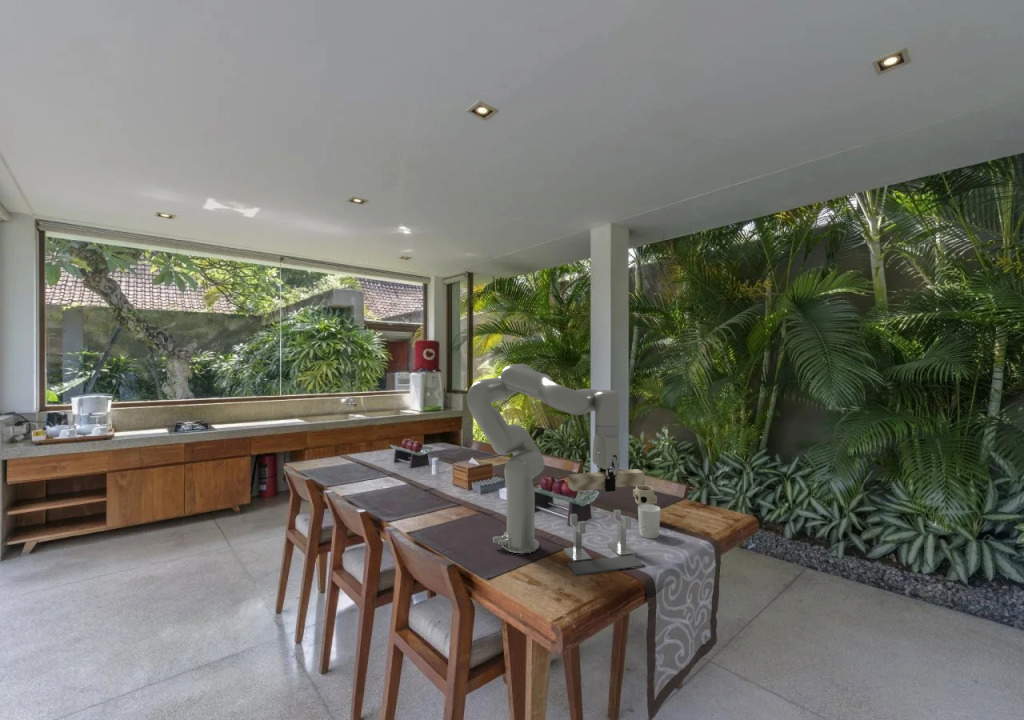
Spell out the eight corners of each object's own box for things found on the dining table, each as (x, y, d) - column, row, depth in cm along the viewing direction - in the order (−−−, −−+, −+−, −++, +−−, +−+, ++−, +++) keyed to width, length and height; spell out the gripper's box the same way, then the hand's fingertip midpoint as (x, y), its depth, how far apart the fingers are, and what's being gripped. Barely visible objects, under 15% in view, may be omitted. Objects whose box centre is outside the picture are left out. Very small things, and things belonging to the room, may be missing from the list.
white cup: (648, 541, 164) (648, 512, 164) (633, 533, 171) (633, 506, 171) (664, 536, 168) (665, 509, 168) (649, 529, 175) (649, 502, 175)
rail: (573, 491, 140) (573, 478, 140) (568, 487, 144) (568, 474, 144) (644, 484, 146) (644, 472, 146) (637, 481, 150) (637, 469, 150)
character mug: (627, 518, 186) (627, 486, 185) (638, 514, 190) (638, 482, 190) (650, 526, 177) (651, 493, 177) (661, 522, 182) (662, 489, 181)
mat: (576, 575, 139) (576, 573, 139) (567, 565, 146) (567, 563, 146) (644, 566, 145) (644, 564, 145) (633, 556, 152) (633, 554, 152)
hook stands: (574, 563, 147) (574, 524, 147) (563, 551, 156) (563, 514, 155) (636, 555, 153) (637, 517, 152) (623, 544, 162) (623, 508, 161)
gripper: (584, 426, 152) (584, 482, 152) (608, 436, 136) (608, 498, 136) (605, 425, 154) (605, 480, 154) (631, 434, 138) (631, 496, 138)
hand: (606, 488), depth 145 cm, fingers closed on rail, 4 cm apart
